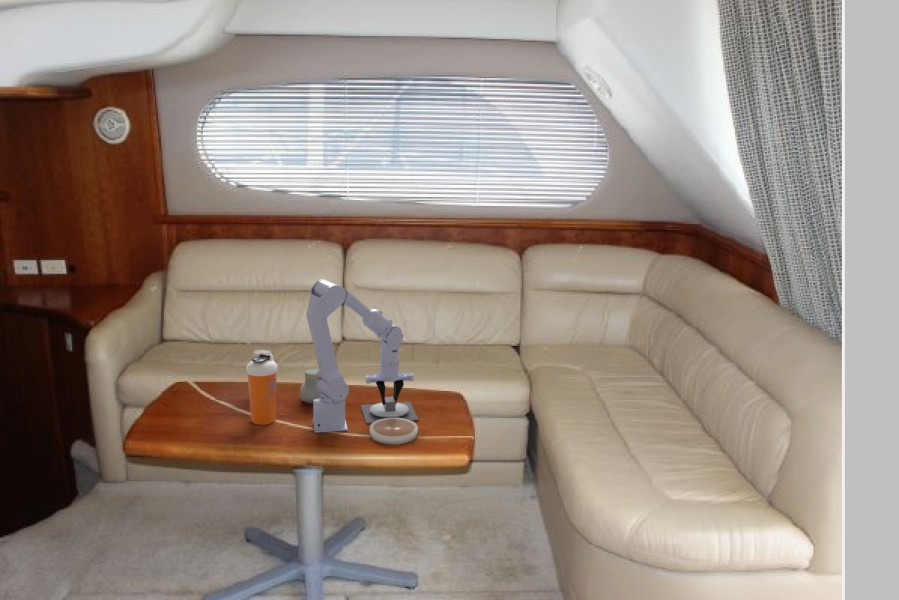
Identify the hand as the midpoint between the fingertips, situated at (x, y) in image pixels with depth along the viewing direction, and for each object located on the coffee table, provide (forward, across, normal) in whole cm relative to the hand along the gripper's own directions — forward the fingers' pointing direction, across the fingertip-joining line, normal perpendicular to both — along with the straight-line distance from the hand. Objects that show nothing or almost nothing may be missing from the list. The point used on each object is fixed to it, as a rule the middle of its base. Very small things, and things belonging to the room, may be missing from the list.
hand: (389, 403), depth 226 cm
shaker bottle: (+4, -38, +1) cm, 38 cm away
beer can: (+4, -38, +21) cm, 44 cm away
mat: (+3, 0, 0) cm, 3 cm away
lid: (+2, 0, -1) cm, 2 cm away
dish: (+3, -1, -15) cm, 15 cm away
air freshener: (+4, -22, +14) cm, 26 cm away
